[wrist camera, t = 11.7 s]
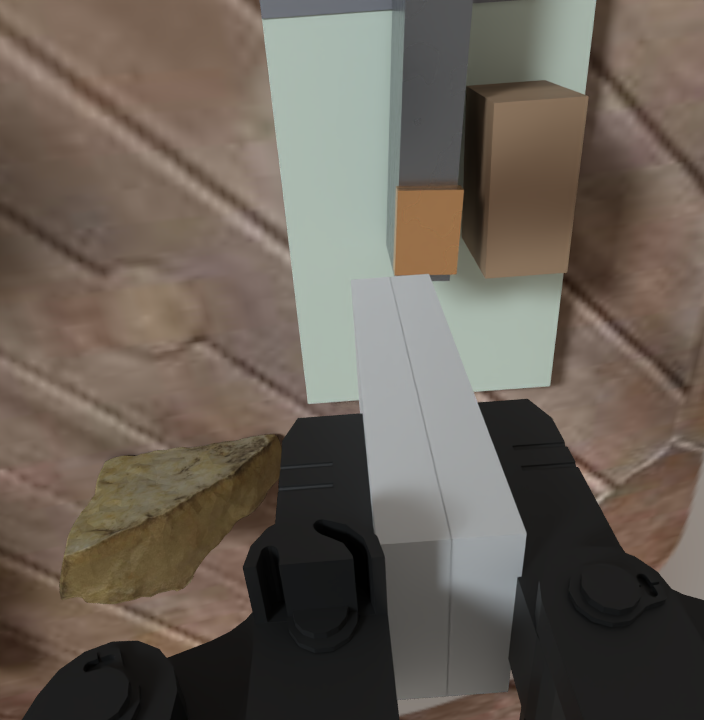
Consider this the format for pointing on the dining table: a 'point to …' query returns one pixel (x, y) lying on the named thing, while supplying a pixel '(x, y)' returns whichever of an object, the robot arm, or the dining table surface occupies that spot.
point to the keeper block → (521, 176)
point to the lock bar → (426, 135)
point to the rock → (163, 517)
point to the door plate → (370, 178)
